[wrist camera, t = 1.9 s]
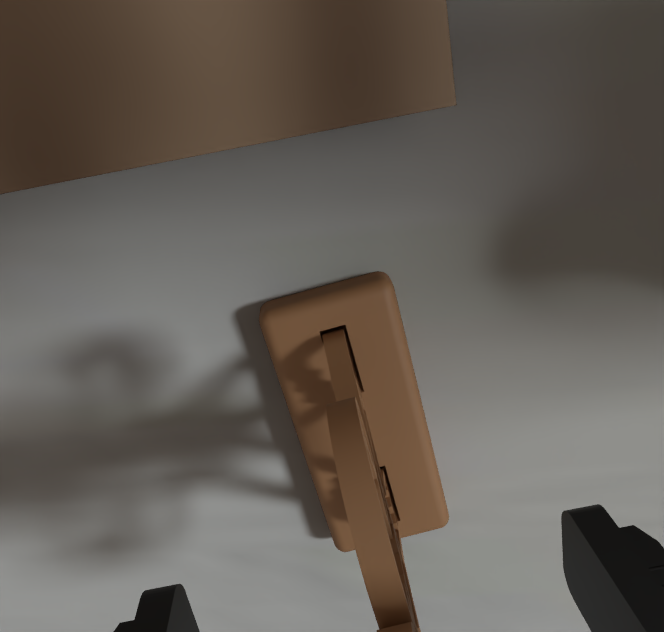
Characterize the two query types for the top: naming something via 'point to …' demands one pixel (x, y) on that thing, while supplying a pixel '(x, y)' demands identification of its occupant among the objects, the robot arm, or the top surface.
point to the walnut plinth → (203, 77)
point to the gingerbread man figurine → (360, 427)
